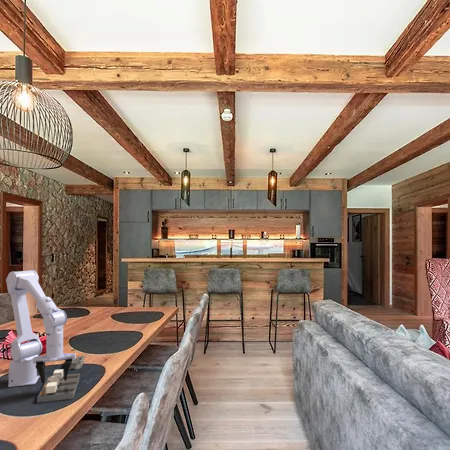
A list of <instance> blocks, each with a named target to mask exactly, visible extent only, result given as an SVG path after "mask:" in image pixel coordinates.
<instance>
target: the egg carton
mask: <svg viewBox="0 0 450 450" xmlns="http://www.w3.org/2000/svg"><path fill="white" fill-rule="evenodd" d="M85 357H86V355H81V356H79V355H78V356H77V357H76V359H75V360H72V363H71V365H70V368H69V370H72V369H73V370H79V369H82V366H83V364H84V363H85Z"/></svg>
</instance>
